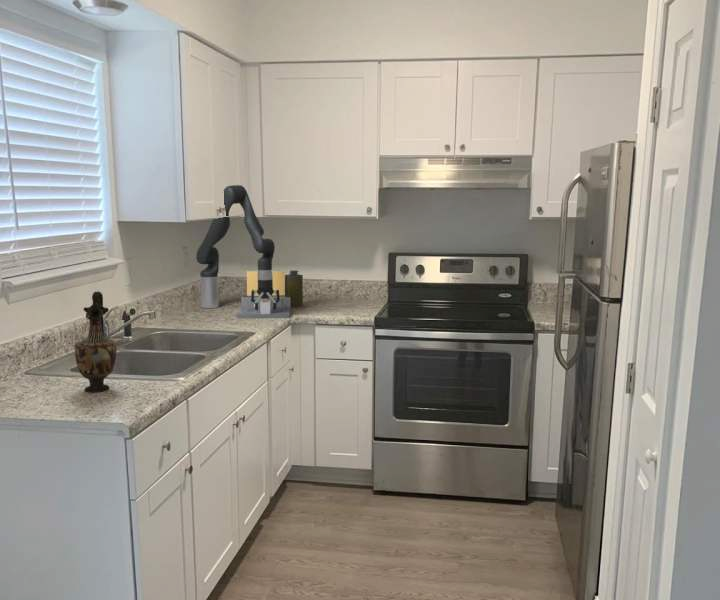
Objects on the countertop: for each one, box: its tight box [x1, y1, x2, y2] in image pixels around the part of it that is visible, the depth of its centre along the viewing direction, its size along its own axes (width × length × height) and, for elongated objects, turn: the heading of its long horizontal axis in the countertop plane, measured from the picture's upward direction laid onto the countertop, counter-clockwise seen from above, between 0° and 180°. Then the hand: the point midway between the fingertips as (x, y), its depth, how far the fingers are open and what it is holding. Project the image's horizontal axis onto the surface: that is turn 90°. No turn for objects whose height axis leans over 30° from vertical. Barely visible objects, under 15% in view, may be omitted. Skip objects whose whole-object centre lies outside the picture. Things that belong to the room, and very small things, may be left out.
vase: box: [74, 291, 118, 393], centre depth 186 cm, size 12×12×30 cm
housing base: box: [236, 296, 292, 319], centre depth 316 cm, size 20×26×9 cm
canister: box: [284, 270, 304, 308], centre depth 343 cm, size 11×10×20 cm
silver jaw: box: [260, 301, 271, 314], centre depth 309 cm, size 5×5×6 cm
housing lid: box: [246, 270, 286, 297], centre depth 324 cm, size 14×20×1 cm
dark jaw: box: [271, 298, 281, 311], centre depth 319 cm, size 5×5×6 cm
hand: (265, 310), depth 309 cm, fingers open, 8 cm apart
